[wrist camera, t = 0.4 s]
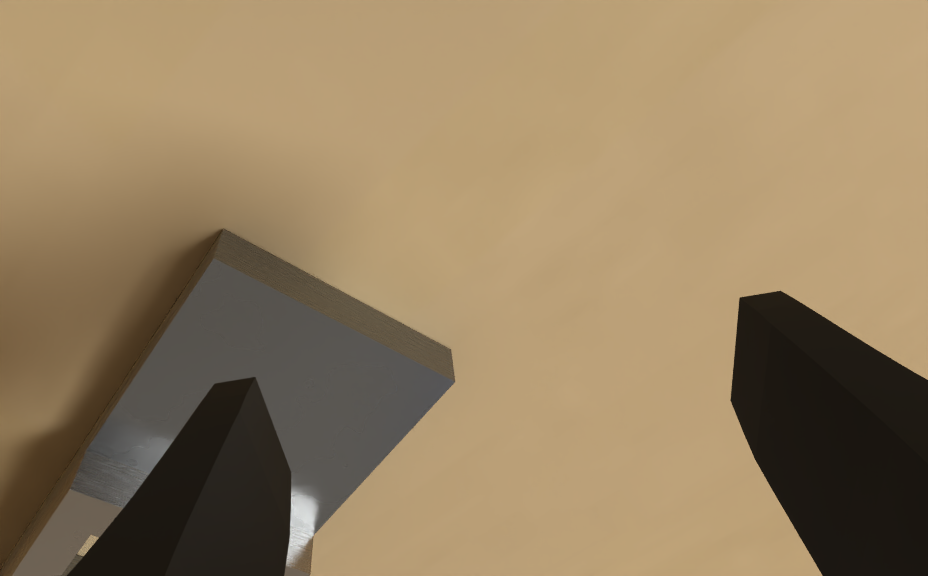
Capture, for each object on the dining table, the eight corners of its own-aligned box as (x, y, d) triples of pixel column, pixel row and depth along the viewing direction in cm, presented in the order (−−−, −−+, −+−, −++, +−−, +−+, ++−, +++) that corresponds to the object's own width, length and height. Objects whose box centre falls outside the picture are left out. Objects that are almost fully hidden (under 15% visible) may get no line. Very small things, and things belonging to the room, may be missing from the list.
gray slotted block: (223, 228, 21) (202, 291, 18) (450, 349, 24) (459, 417, 21) (-68, 672, 30) (-108, 753, 28) (120, 718, 33) (100, 794, 31)
